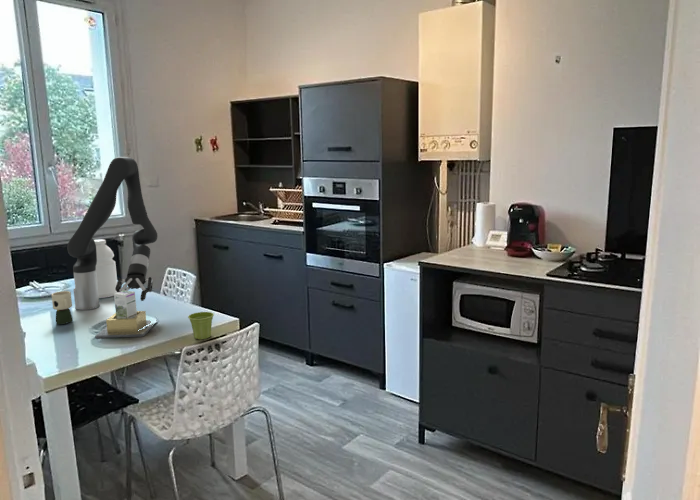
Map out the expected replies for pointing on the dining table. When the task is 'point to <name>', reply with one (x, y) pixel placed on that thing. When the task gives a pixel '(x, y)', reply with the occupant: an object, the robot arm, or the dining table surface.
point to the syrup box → (125, 304)
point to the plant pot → (201, 324)
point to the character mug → (62, 306)
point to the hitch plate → (125, 326)
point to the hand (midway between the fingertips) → (131, 300)
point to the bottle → (105, 270)
